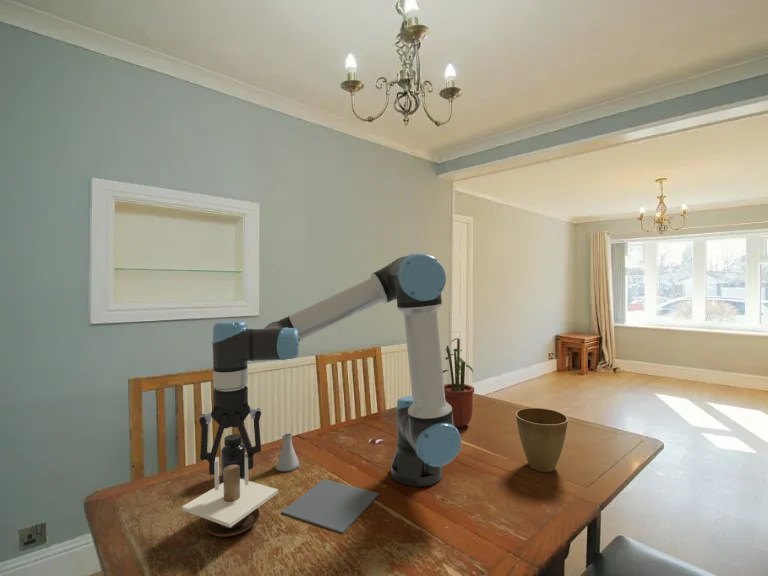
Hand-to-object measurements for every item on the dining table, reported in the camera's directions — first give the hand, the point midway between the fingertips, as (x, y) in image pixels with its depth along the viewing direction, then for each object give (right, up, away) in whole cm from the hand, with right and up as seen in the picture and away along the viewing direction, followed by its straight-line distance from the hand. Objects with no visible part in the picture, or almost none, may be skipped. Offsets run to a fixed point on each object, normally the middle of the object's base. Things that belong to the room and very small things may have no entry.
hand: (232, 484), depth 92 cm
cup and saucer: (0, -10, +1) cm, 10 cm away
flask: (+6, -10, +30) cm, 32 cm away
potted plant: (+64, -9, +67) cm, 93 cm away
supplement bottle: (-9, -10, +23) cm, 27 cm away
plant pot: (+84, -9, +29) cm, 90 cm away
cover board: (0, -4, 0) cm, 4 cm away
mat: (+22, -10, +9) cm, 26 cm away
